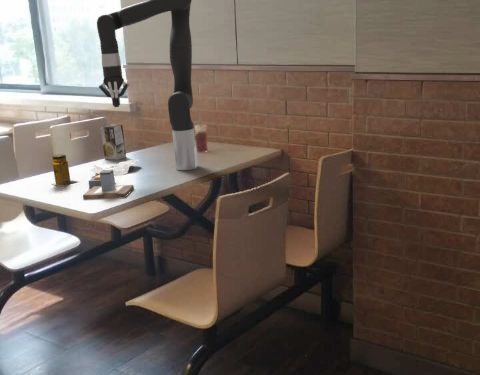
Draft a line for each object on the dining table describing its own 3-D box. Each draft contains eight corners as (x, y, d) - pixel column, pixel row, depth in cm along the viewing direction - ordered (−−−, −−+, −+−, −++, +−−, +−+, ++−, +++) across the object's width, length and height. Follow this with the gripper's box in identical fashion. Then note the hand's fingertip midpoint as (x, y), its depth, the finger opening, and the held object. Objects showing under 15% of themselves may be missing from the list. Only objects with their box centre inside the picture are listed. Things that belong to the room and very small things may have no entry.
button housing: (114, 182, 243) (114, 175, 242) (108, 187, 235) (107, 180, 234) (96, 183, 244) (95, 176, 243) (89, 188, 236) (88, 181, 235)
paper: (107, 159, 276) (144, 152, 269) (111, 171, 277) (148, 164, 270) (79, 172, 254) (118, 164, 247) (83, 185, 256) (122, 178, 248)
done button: (108, 182, 241) (107, 174, 240) (105, 185, 237) (104, 177, 236) (99, 183, 241) (98, 174, 241) (95, 185, 238) (94, 177, 237)
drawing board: (133, 188, 231) (133, 184, 231) (125, 197, 219) (124, 193, 219) (94, 190, 233) (93, 186, 232) (83, 198, 221) (82, 194, 221)
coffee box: (127, 157, 290) (123, 124, 286) (117, 160, 285) (113, 126, 281) (113, 156, 295) (109, 124, 291) (104, 159, 290) (99, 126, 285)
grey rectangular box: (115, 188, 227) (113, 169, 225) (112, 190, 224) (109, 172, 222) (105, 188, 228) (103, 170, 226) (101, 191, 224) (99, 172, 222)
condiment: (51, 184, 246) (47, 156, 243) (68, 179, 253) (64, 152, 249) (61, 186, 242) (57, 158, 239) (79, 181, 248) (75, 153, 245)
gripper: (129, 63, 247) (134, 104, 251) (99, 65, 248) (104, 106, 253) (124, 64, 240) (129, 107, 244) (93, 66, 241) (98, 109, 246)
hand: (116, 106), depth 249 cm, fingers closed
